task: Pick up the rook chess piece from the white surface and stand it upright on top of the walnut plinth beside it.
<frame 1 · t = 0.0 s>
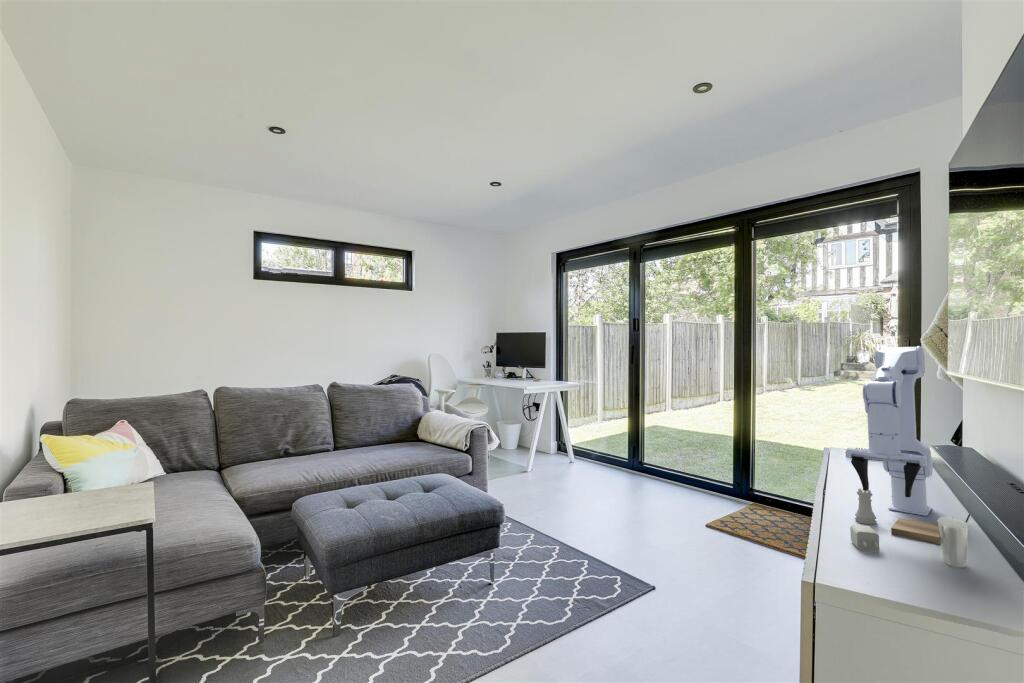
hand: (886, 493, 109), 10 cm above the tv stand, fingers open, 7 cm apart
usb wall charger: (867, 550, 102), on the tv stand
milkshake: (957, 565, 94), on the tv stand
rook chess piece: (865, 522, 119), on the tv stand
walnut plinth: (922, 534, 110), on the tv stand
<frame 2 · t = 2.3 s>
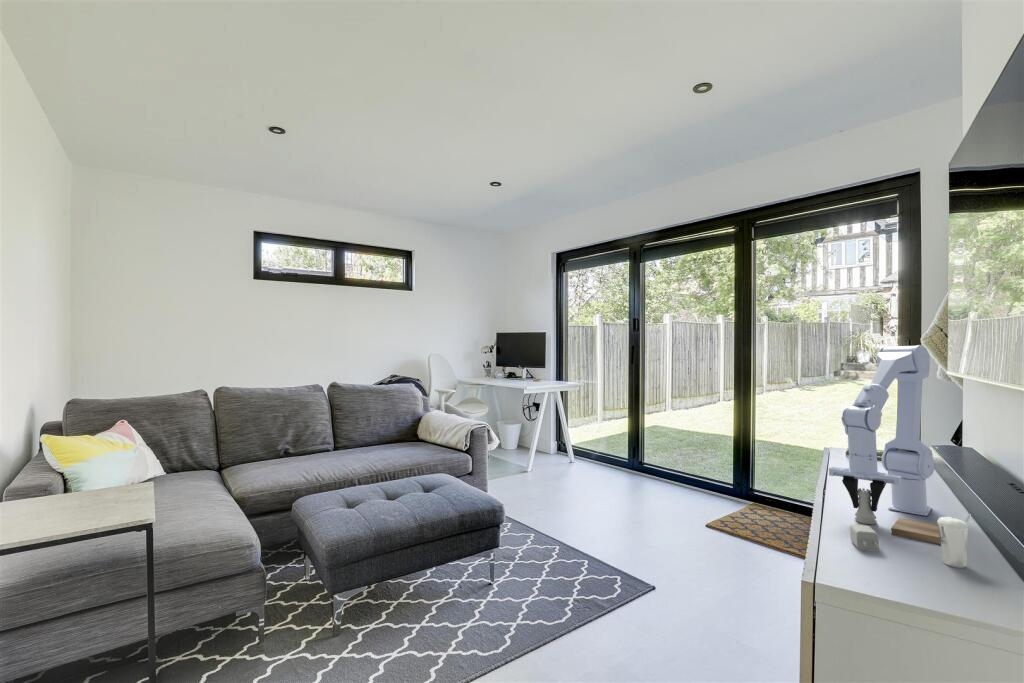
hand: (865, 508, 119), 3 cm above the tv stand, fingers closed on rook chess piece, 3 cm apart
rook chess piece: (865, 522, 119), on the tv stand, touching gripper
everything else where it was.
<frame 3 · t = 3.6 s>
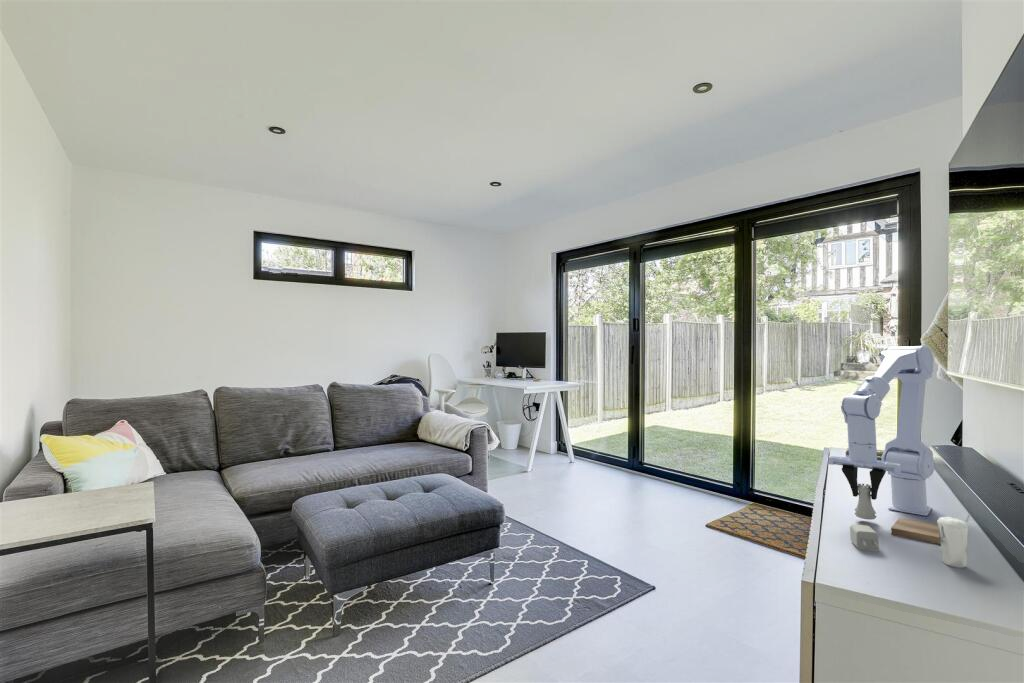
hand: (864, 497, 119), 6 cm above the tv stand, fingers closed on rook chess piece, 3 cm apart
rook chess piece: (865, 517, 119), point 1 cm above the tv stand, touching gripper
everything else where it was.
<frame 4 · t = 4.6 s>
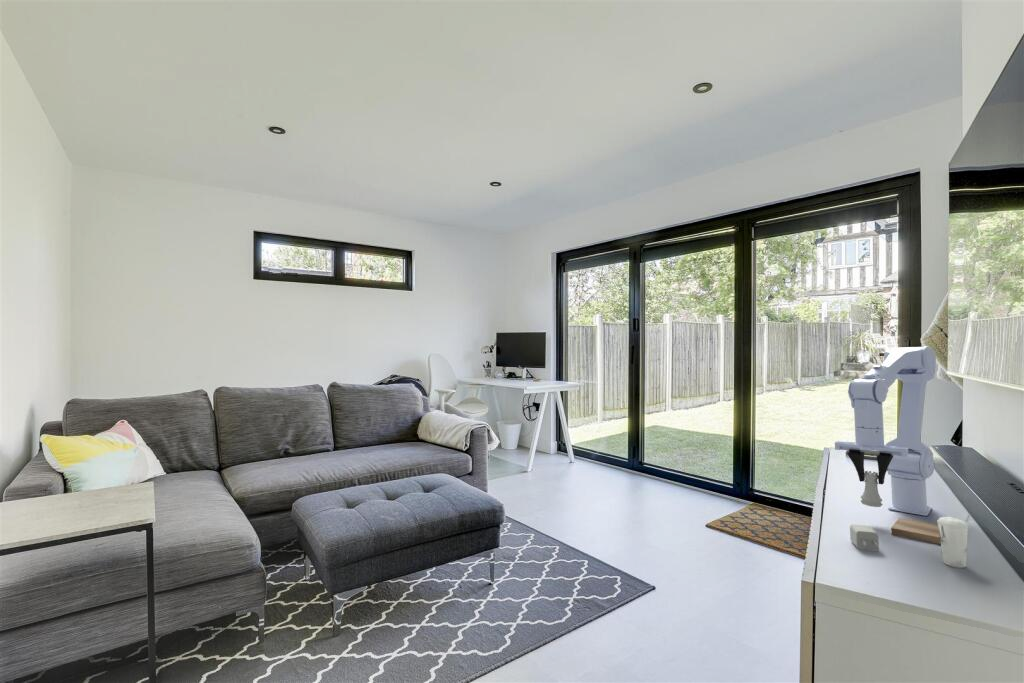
hand: (871, 482, 118), 10 cm above the tv stand, fingers closed on rook chess piece, 3 cm apart
rook chess piece: (871, 505, 118), point 4 cm above the tv stand, touching gripper
everything else where it was.
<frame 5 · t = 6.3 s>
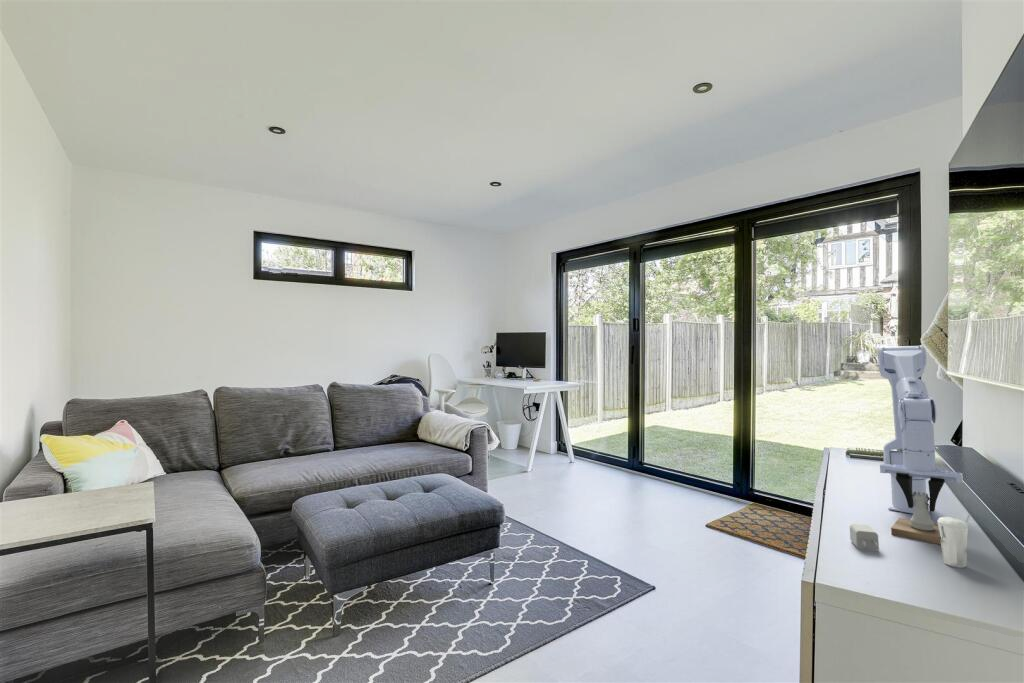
hand: (921, 508, 110), 6 cm above the tv stand, fingers closed on rook chess piece, 3 cm apart
rook chess piece: (922, 529, 110), point 1 cm above the tv stand, touching gripper, walnut plinth
everything else where it was.
when the fingers open (6 cm above the tv stand, at t = 7.1 s): rook chess piece stays where it is, resting on walnut plinth.
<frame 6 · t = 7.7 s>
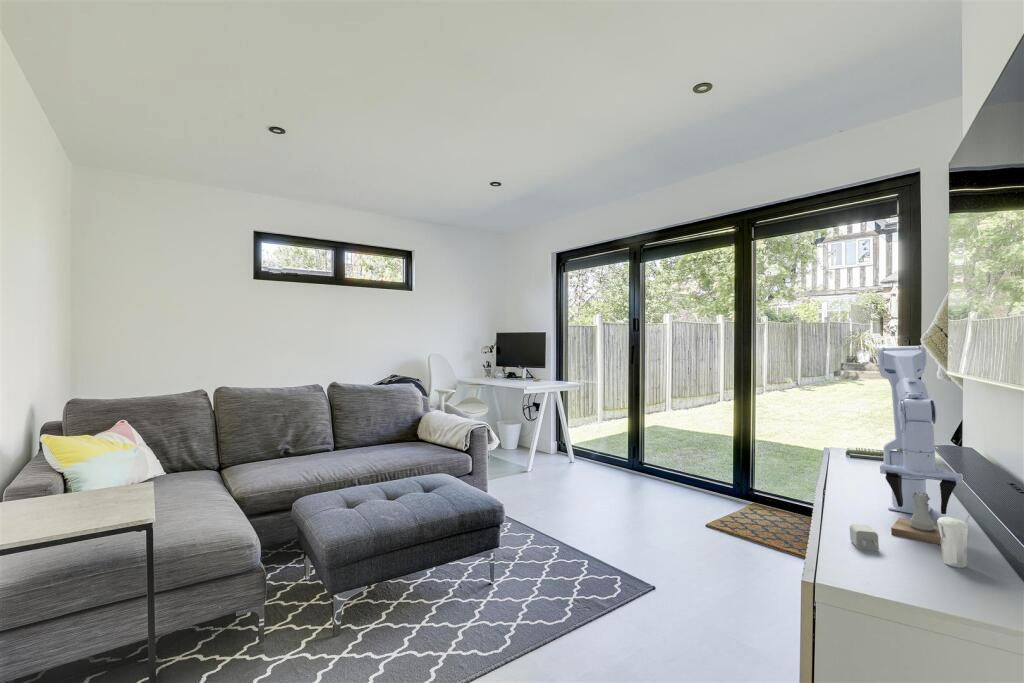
hand: (921, 509, 110), 6 cm above the tv stand, fingers open, 7 cm apart
rook chess piece: (922, 529, 110), point 1 cm above the tv stand, touching walnut plinth
everything else where it was.
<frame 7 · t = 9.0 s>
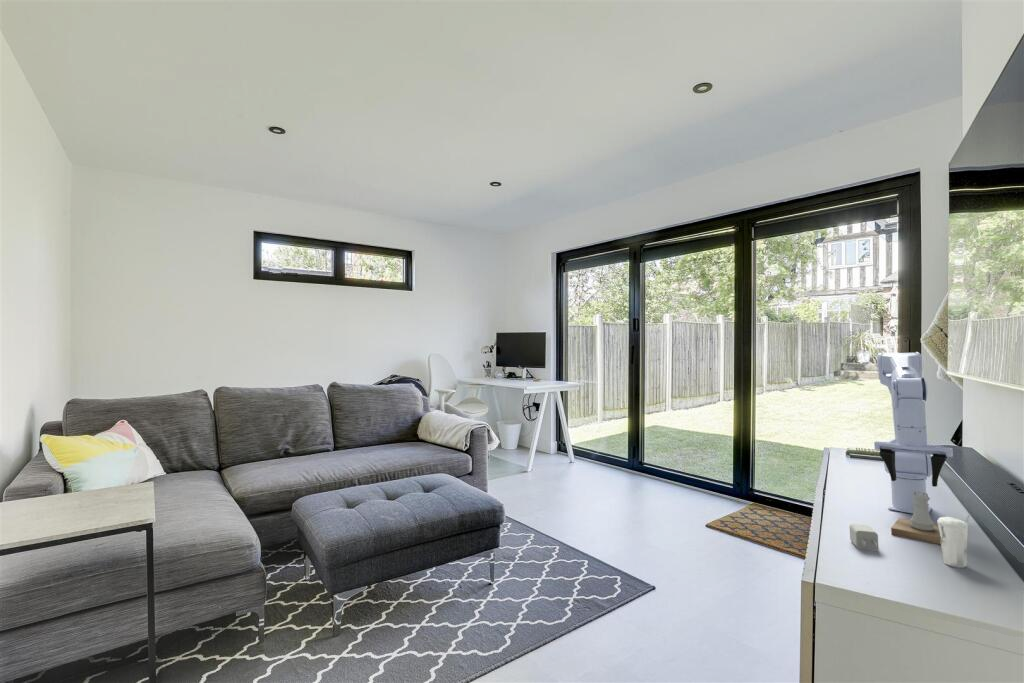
hand: (913, 483, 115), 10 cm above the tv stand, fingers open, 7 cm apart
nothing on the tv stand moved.
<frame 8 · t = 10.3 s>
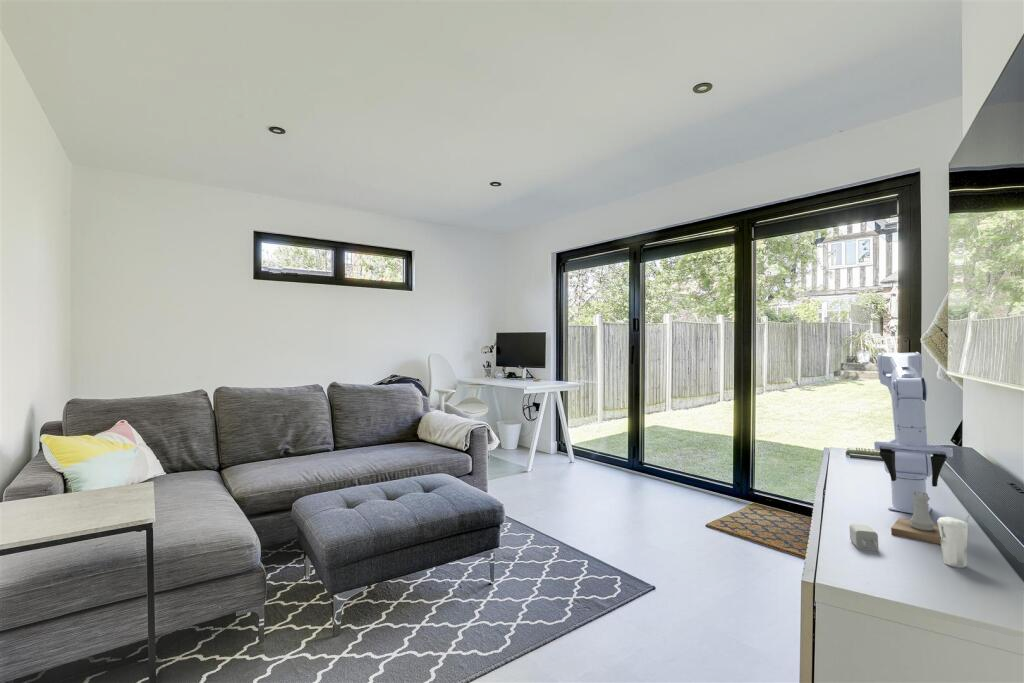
hand: (913, 483, 115), 10 cm above the tv stand, fingers open, 7 cm apart
nothing on the tv stand moved.
at the end: rook chess piece 0.4 cm off-centre on the walnut plinth, point 1.3 cm above the walnut plinth's base; rook chess piece tilted 0°; the gripper is holding nothing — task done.
